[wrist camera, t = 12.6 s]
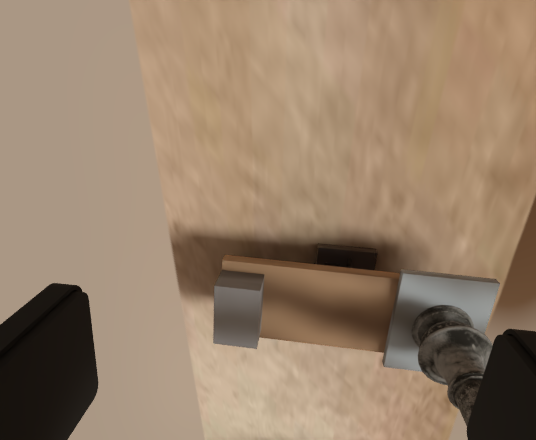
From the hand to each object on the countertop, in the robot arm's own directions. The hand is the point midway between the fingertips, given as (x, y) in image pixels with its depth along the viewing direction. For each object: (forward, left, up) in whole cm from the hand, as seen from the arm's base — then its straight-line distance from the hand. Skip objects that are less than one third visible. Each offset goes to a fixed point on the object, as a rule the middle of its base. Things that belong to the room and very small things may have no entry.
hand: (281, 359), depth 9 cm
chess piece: (+14, +14, -23) cm, 31 cm away
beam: (+14, +6, -25) cm, 30 cm away
